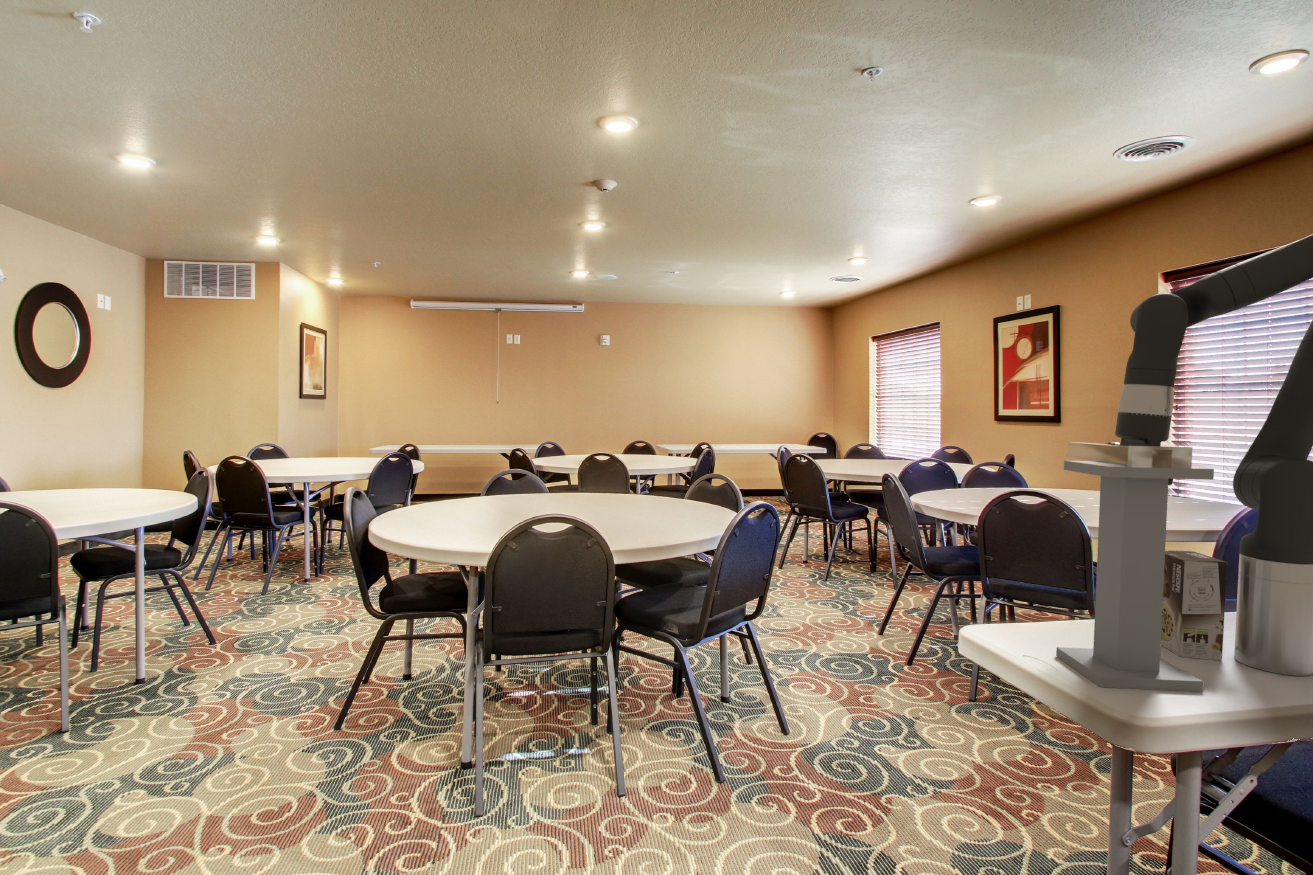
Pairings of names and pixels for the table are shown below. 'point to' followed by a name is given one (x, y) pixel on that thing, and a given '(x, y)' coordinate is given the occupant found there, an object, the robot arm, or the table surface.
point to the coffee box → (1193, 604)
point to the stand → (1130, 579)
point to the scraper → (1133, 455)
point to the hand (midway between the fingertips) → (1131, 504)
